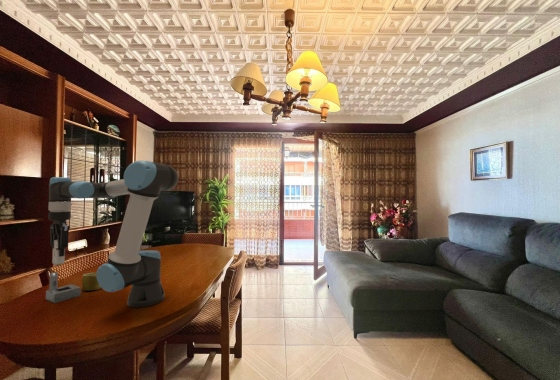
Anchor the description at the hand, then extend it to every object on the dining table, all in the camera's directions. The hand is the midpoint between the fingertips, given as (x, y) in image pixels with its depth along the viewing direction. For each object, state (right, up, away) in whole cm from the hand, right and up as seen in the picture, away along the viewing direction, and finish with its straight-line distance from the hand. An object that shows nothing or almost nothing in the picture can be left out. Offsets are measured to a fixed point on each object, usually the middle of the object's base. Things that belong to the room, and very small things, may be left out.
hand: (58, 262), depth 110 cm
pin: (0, -1, 0) cm, 1 cm away
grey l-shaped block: (-9, -19, +10) cm, 24 cm away
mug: (+1, -20, +21) cm, 29 cm away
